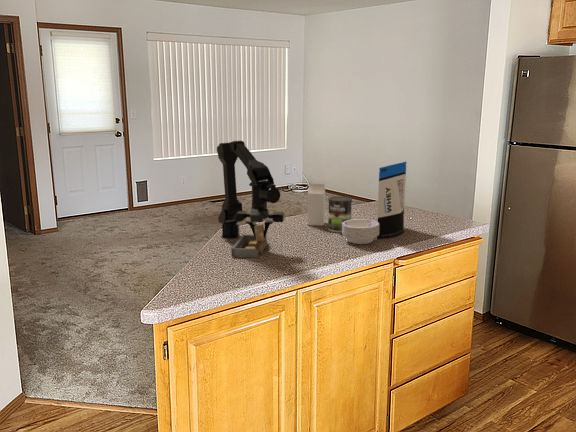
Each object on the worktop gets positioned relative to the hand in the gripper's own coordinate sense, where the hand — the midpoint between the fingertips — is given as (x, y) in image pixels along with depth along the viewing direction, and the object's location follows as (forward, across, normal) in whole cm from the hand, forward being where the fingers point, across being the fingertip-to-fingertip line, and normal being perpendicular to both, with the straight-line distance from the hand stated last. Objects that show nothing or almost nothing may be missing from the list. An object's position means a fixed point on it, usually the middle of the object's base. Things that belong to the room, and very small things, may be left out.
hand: (260, 238), depth 206 cm
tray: (+5, -4, 0) cm, 6 cm away
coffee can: (+5, +30, +34) cm, 45 cm away
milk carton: (+5, +19, +43) cm, 47 cm away
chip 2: (+5, -3, -4) cm, 7 cm away
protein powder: (+5, +52, +30) cm, 60 cm away
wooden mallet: (+4, +1, 0) cm, 4 cm away
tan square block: (+5, -3, +4) cm, 7 cm away
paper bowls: (+5, +39, +16) cm, 42 cm away
